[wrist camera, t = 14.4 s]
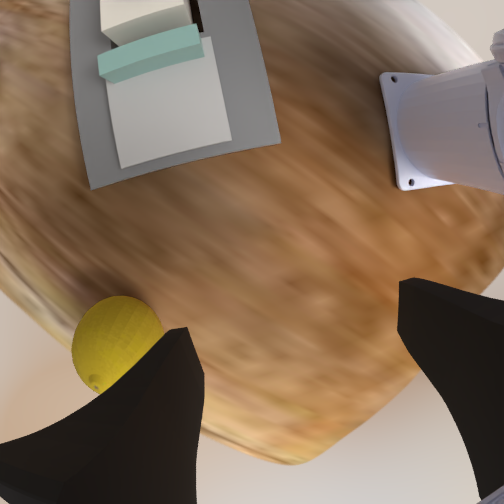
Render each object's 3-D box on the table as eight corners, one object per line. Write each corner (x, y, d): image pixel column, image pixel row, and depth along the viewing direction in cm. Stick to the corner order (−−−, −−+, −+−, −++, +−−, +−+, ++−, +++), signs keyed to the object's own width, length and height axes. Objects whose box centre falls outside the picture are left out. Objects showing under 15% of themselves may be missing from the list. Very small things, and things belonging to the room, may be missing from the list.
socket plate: (230, -45, 12) (230, -60, 10) (276, 144, 17) (281, 143, 15) (82, -1, 12) (70, -11, 10) (104, 186, 17) (91, 190, 15)
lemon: (90, 289, 19) (33, 352, 12) (154, 266, 19) (109, 332, 11) (125, 351, 21) (89, 425, 13) (187, 334, 21) (167, 418, 13)
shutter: (211, 40, 13) (207, 21, 10) (232, 140, 15) (231, 137, 12) (108, 71, 13) (88, 59, 10) (125, 168, 15) (105, 171, 12)
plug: (196, 39, 15) (180, -6, 9) (132, 58, 15) (93, 24, 9) (187, -8, 13) (171, -58, 8) (127, 10, 13) (93, -31, 8)
